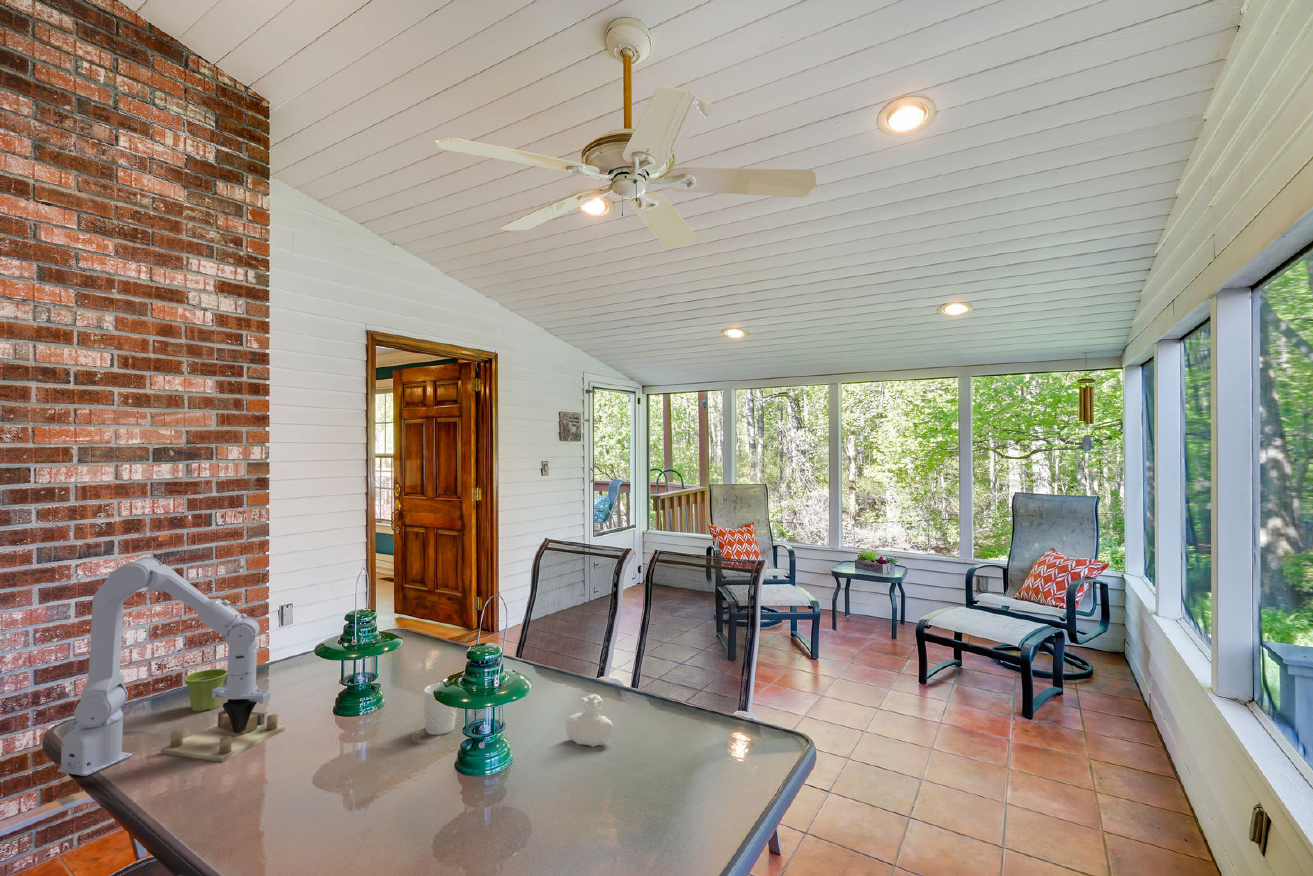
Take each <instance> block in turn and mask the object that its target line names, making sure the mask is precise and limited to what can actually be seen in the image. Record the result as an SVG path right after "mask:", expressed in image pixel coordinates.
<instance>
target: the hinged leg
mask: <svg viewBox="0 0 1313 876" xmlns="http://www.w3.org/2000/svg"><path fill="white" fill-rule="evenodd" d="M217 724H218V727H221V728H223V729H227V730H230V731H233V728H232V725H231V721H230V718H229V716H228V714H227V712H226V711H225V709H224V708H223V710H221V711H218V713H217ZM256 728H257V715H253V714H250V717H249V720H248V723H247V726H246V729H245V730H244V731H242V732H240V733H241V734H244V733H246V732H249V731H251V730H254V729H256Z"/></svg>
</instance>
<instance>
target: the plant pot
mask: <svg viewBox="0 0 1313 876" xmlns="http://www.w3.org/2000/svg"><path fill="white" fill-rule="evenodd" d="M226 679H227V669H225V668H213V669H212V668H210V669H205V670H200V671H195V672H193V673H190V674H188V675H186V676H185V677H184V681H185V682H186V685H187V687H188V693H189V694H188V695H189V701H190V708H191V710H192V712H204V711H206V710H213V709H216V708H217V707H219V706H220V705H221V698H220V697H217V698H212V690H213V689H215V688H218V687H224V683H225V680H226Z"/></svg>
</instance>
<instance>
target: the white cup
mask: <svg viewBox="0 0 1313 876" xmlns="http://www.w3.org/2000/svg"><path fill="white" fill-rule="evenodd" d="M441 683H442V682H438V683H433V684H430V685H427V686H426V687H425V688H424V689H423V696H424V697H423V699H424V700H423V701H424V702H423V705H424V720H425V725H424V726H425V728H424V729H425V732H426V733H427V734H428V735H431V736H432V735H435V736H436V735H437V736H439V735H444V734H445V735H446V734H447V733H448V734H449V733H451V731H453V730H454V729H455V724H456V715H457V708H456V709H454V708H451V707H448V706H446V705H441V704H440V703H439V702H437V701H436V700H435V697H434V694H433V691H434V689H435V687H438V686H439V685H440V684H441Z"/></svg>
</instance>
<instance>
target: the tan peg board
mask: <svg viewBox="0 0 1313 876" xmlns="http://www.w3.org/2000/svg"><path fill="white" fill-rule="evenodd" d="M251 714H253V715H257V728H256V729H254V730H251V731H249V732H246V733H244V734H241V733H234V732H233V731H230V730H227V729H223V728H221V727H218V723H216V724H213V725H211V726H209V727H207V728H204V729H202V730H201V731H198V732H196V733H193V734H192V735H189V736H187V737H183V736H184V731H183V730H182V729H177V730H174V731H171V732H170V740H169V741H170V744H169V745H167V746H164V747H162V748H160V754H161V755H170V756H176V757H177V756H178V757H184V758H190V759H196V760H197V759H198V760H204V761H205V760H206V761H212V762H219V763H223V762H225V761H227V760H229V759H231V758H234V757H236V756H237V755H239V754H241V753H243V752H245V751H247V750H249V749H251V748H253V747H255V746H257V745H259V744H260V743H263V742H264V741H266V740H268V739H270V738H272V737H274V736H276V735H278V734H279V733H281V732H284V731H285V730H286V725H283V724H278V717H279V715H278V714H277V713H274V714H270V715H267V716H266V723H265V713H264V712H257V711H256V712H255V711H252V712H251Z"/></svg>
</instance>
